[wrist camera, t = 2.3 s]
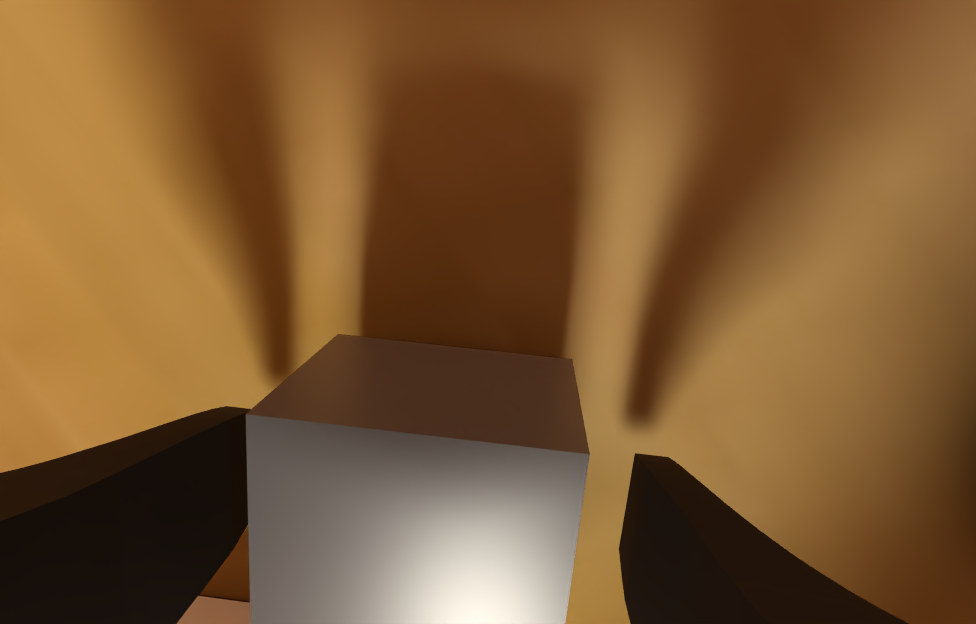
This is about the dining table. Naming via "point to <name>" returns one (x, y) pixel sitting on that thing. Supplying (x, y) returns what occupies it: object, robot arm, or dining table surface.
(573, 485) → the plug
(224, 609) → the socket plate
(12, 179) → the dining table surface
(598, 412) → the dining table surface
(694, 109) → the dining table surface
